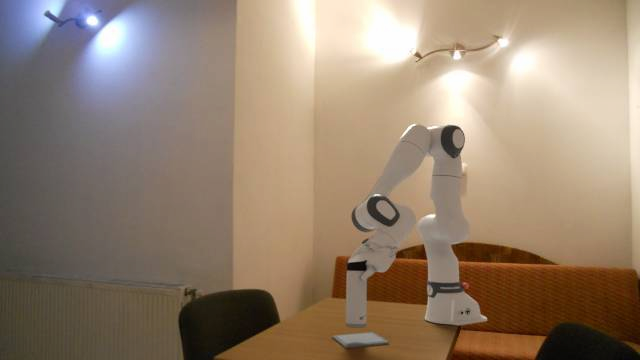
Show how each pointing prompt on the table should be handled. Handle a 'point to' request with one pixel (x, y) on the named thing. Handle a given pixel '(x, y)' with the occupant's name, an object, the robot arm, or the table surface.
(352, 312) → the travel mug
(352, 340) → the felt pad
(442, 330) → the table surface
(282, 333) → the table surface
